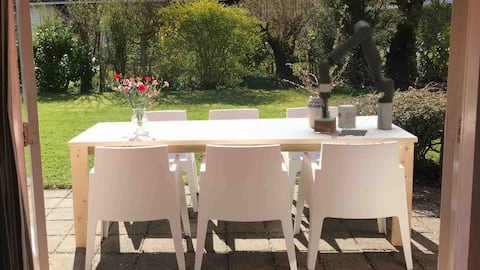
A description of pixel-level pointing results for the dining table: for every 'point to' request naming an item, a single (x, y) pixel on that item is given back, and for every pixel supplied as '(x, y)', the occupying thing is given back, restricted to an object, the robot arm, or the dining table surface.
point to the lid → (325, 118)
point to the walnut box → (325, 126)
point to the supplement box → (347, 116)
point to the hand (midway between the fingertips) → (325, 117)
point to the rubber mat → (353, 132)
